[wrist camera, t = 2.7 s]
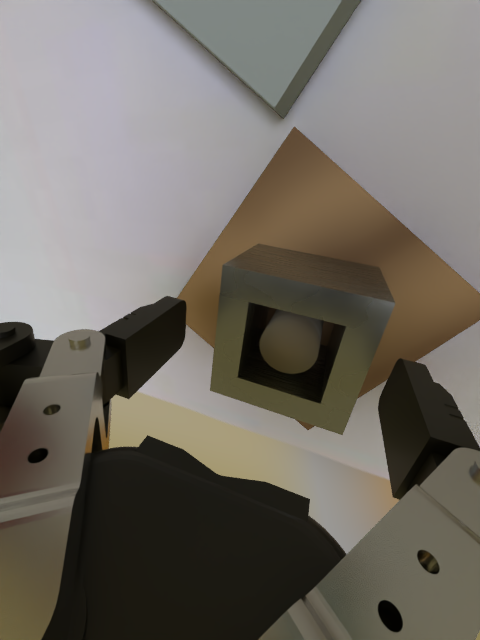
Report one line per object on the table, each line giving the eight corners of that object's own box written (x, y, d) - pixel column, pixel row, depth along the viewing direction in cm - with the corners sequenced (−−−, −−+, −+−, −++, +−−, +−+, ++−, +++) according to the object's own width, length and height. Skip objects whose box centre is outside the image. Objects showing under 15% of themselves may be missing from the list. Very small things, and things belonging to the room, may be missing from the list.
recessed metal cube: (379, 267, 13) (395, 303, 9) (343, 369, 16) (342, 434, 12) (258, 243, 15) (222, 264, 11) (243, 341, 18) (210, 390, 13)
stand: (482, 298, 14) (564, 361, 9) (310, 414, 20) (297, 493, 15) (298, 132, 14) (270, 96, 8) (180, 301, 20) (122, 340, 15)
